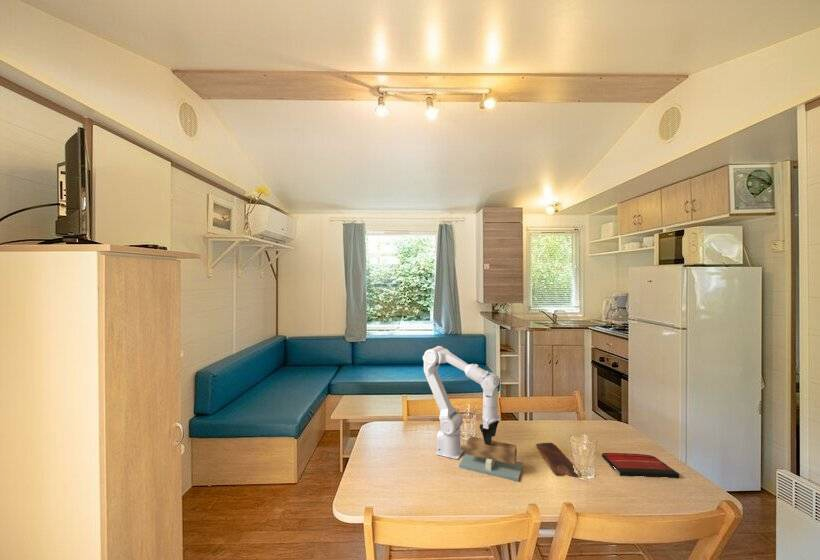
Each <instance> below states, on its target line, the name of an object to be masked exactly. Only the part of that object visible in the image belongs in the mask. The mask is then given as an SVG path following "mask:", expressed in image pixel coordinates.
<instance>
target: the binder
mask: <svg viewBox="0 0 820 560" xmlns="http://www.w3.org/2000/svg"><path fill="white" fill-rule="evenodd" d="M601 457H602V458H603V459H604V460H605V462H606V463H607V464H608V463H609V464H610V467H611V469H613V470H614V467H615V468H616V469H617V471H618V472H619V477H634V476H644V477H643V478H661V477H668V478H667V479H680V473H679V472H677V471H676V470H675V469H673V468H671V467H670V466H668V465H667V464H666V463H664V462H663V461H662V460H660V459H659V458H658V457H655V456H653V455H650V454H641V453H625V452H624V453H622V452H620V453H619V452H603V453H602V454H601ZM609 464H608V465H609ZM613 466H614V467H613ZM645 476H646V477H645Z"/></svg>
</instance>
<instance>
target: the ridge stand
mask: <svg viewBox="0 0 820 560" xmlns="http://www.w3.org/2000/svg"><path fill="white" fill-rule="evenodd" d="M523 467H524V463H523V462H520V461H516V462H515V465H514V464H509V463H505V462H500V461H496V460H491V459H487V458H482V457H478V456H473V455H469V454H467V452H466V453H465V454H464V456H463V458H462V459H461V461H460V462H459V464H458V468H460V469H464V470H468V471H472V472H477V473H481V474H485V475H489V476H493V477H496V478H497V477H498V478H502V479H504V480H505V479H506V480H509V481H513V482H514V481H515V482H519V480H520V477H521V473H522V470H523Z"/></svg>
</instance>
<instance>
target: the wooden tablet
mask: <svg viewBox="0 0 820 560" xmlns="http://www.w3.org/2000/svg"><path fill="white" fill-rule="evenodd" d="M535 447H536V449H537V450H538V452H539V454H540V455H541V456H542V458H543V459H544V461H545V462H546V464H547V465H548V467H549V468H550V470H551V472H552V473H553V474H554V475H555V476H556V477H565V476H566V477H571V478H578V477H577V476H578V475H577V474H576V473H575V472H574V468H573V465H574V463H573V462H572V461H571V460H570V458H568V456H566V454H565V453H563V451H562V450H561V449H560V448H559V447H558V446H557V445H556V444H555V443H553V442H541V443H536V445H535Z"/></svg>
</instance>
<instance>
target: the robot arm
mask: <svg viewBox="0 0 820 560" xmlns="http://www.w3.org/2000/svg"><path fill="white" fill-rule="evenodd" d="M422 360H423V372H424V375H425V377H426V380H427V383H428V385H429V388H430V390H431V392H432V395H433V397H434V400H435V403H436V405H437V407H438V409H439V415H438V416H439V417H438V418H439V421H440V422H439V423H440V429H439V430H438V432H437V434H436V435H437V436H436V453H435V454H436V455H438V456H441V457H445V458H451V459H453V460H459V459H460V457H461V456H462V454H463V453H464V449H463V448H461V426H462V425H463V423H464V420H463V417H462V415H461V414H460V412H458V410H457V408H455V407H454V406H453V404H452V403H451V401H450V398H449V396H448V393H447V391H446V388H445V386H444V384H443V381H442V379H441V377H440V376H441V375H439V372H438V371H439V370H438V369H439V367H440V365H441V364H447V363H448V364H450V365H451V366H453V367H455V368H457V369H459V370H460V371H463V372H464V374H465V376H466V377H467V378H468V379H470V380H472V381H473V382H474V383H477V384H479V385H480V387H481V389H482V416H481V419H482V422H483V423H481V424H479V429H480V432H481V433H482V439H484V443H485V444H487V445H490V444H491V440H492V438H494V437H496V433H497V428H498V425H499V423H500V421H501V420H502V417H500V416H499V415H498V414H499V413H498V408H499V404H498V402H499V394H498V393H499V392H498V391H499V387H498V386H499V385H500V377H499V375H497V374H496V373H495V372H490V371H489V370H485V369H483V368H482V367H481V366H480V367H479V364H477V363H467V362H466V361H464V360H463V359H461V358H459V357H458V356H457V355H456V354H454V353H452V352H450V350H449V349H447V348H445V347H444V346H441V345H437V346H435V347H433V348H431V349H430V348H429V349H427V350H426V351H424V354H423V355H422ZM492 441H493V440H492Z"/></svg>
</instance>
